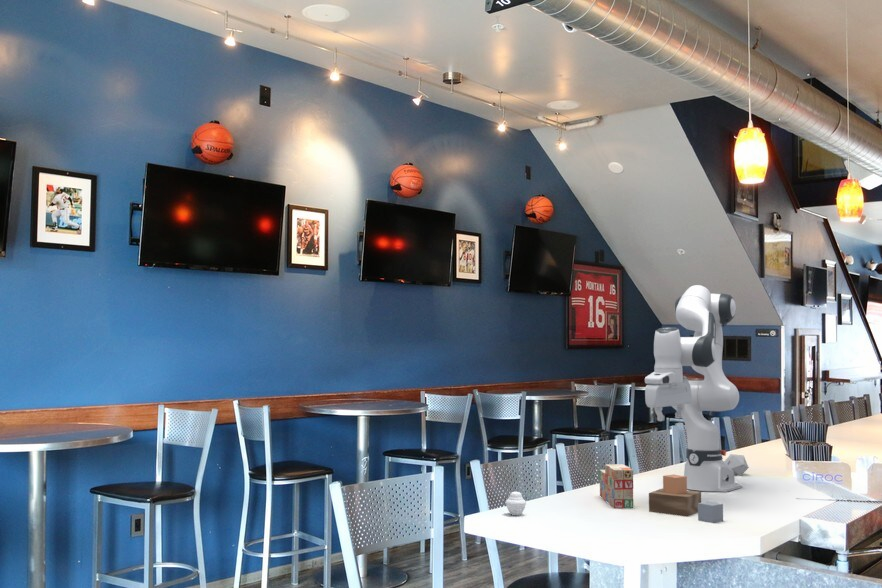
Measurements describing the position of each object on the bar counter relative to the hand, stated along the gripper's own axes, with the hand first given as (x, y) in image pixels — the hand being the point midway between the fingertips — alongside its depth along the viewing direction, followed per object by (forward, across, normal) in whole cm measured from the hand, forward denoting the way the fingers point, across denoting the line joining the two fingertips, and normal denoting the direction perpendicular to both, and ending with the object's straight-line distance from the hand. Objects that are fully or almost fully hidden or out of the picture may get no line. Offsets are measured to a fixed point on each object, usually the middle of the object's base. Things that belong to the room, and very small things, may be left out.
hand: (669, 419), depth 258 cm
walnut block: (+27, +9, +8) cm, 30 cm away
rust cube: (+21, +9, +8) cm, 24 cm away
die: (+31, -76, -25) cm, 86 cm away
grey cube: (+26, +13, +23) cm, 37 cm away
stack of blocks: (+27, +12, -13) cm, 33 cm away
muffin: (+25, +53, -18) cm, 61 cm away
